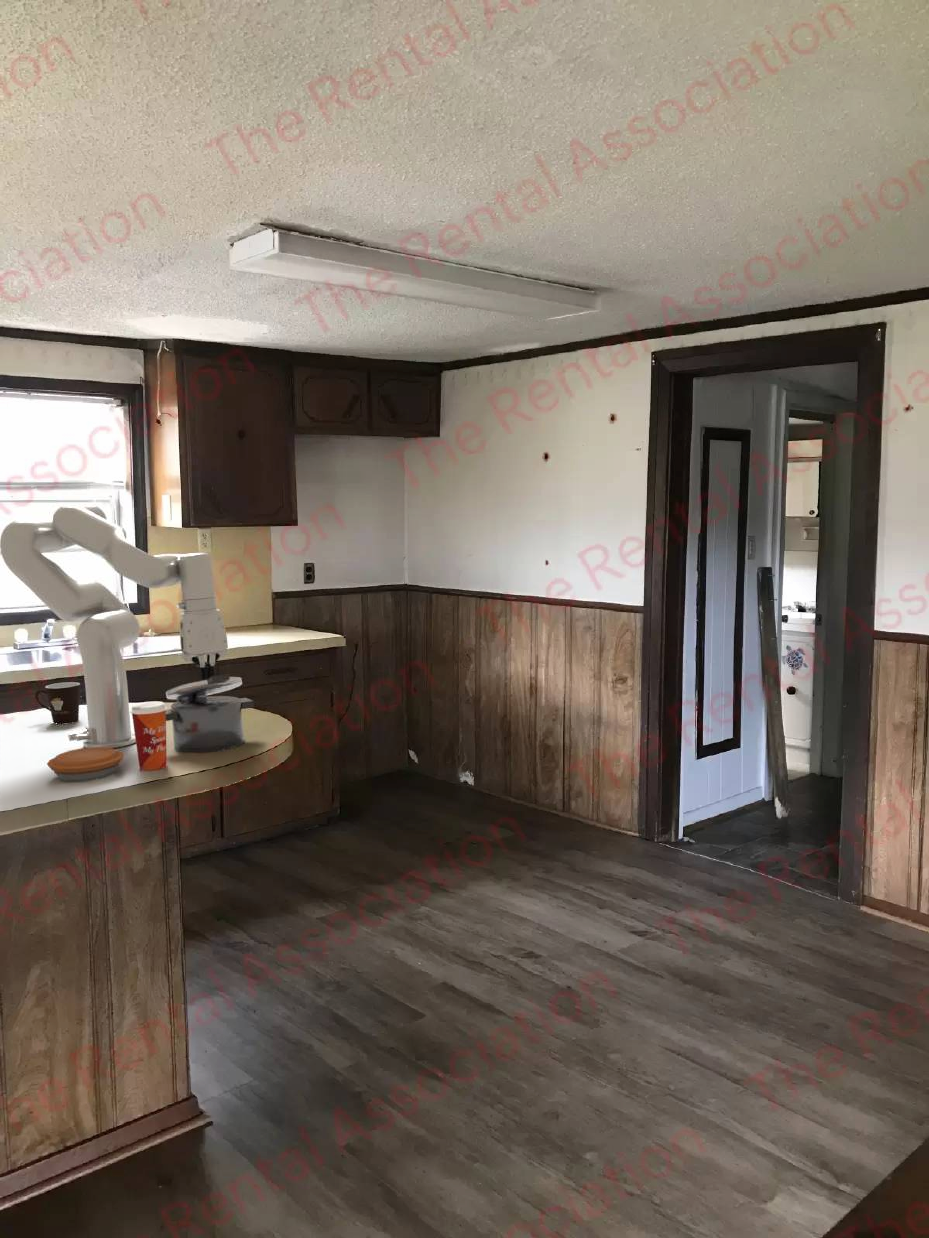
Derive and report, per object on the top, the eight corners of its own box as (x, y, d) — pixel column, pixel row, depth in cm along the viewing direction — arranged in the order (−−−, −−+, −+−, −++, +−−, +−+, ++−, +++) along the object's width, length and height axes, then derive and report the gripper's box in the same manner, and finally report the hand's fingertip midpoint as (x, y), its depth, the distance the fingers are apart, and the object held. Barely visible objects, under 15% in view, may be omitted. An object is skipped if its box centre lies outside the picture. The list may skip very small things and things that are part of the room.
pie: (134, 775, 215) (133, 752, 215) (58, 789, 206) (56, 765, 206) (113, 761, 228) (111, 740, 227) (40, 774, 219) (38, 752, 218)
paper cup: (151, 773, 216) (146, 709, 214) (127, 769, 220) (122, 706, 218) (179, 764, 222) (174, 702, 221) (155, 760, 226) (150, 699, 225)
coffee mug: (89, 719, 274) (86, 683, 273) (62, 726, 267) (58, 689, 266) (62, 716, 281) (59, 680, 280) (35, 722, 273) (31, 686, 272)
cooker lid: (183, 686, 224) (181, 673, 225) (157, 704, 242) (155, 691, 242) (257, 676, 234) (255, 663, 234) (227, 693, 251) (225, 681, 252)
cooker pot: (175, 758, 228) (171, 713, 227) (149, 743, 243) (146, 701, 242) (265, 742, 240) (262, 699, 239) (235, 729, 255) (232, 688, 254)
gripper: (173, 610, 229) (181, 689, 232) (235, 602, 238) (243, 679, 240) (163, 608, 236) (171, 686, 238) (224, 601, 244) (231, 676, 246)
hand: (207, 682), depth 239 cm, fingers closed
